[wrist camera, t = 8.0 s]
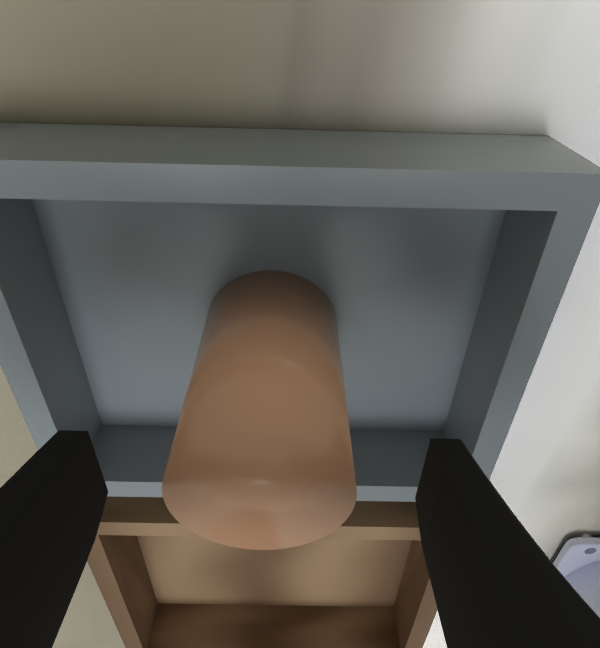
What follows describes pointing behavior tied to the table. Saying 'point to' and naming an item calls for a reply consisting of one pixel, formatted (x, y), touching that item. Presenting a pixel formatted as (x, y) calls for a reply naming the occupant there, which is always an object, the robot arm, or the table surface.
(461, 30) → the table surface
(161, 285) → the bin
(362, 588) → the bin
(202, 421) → the orange tan cylinder
